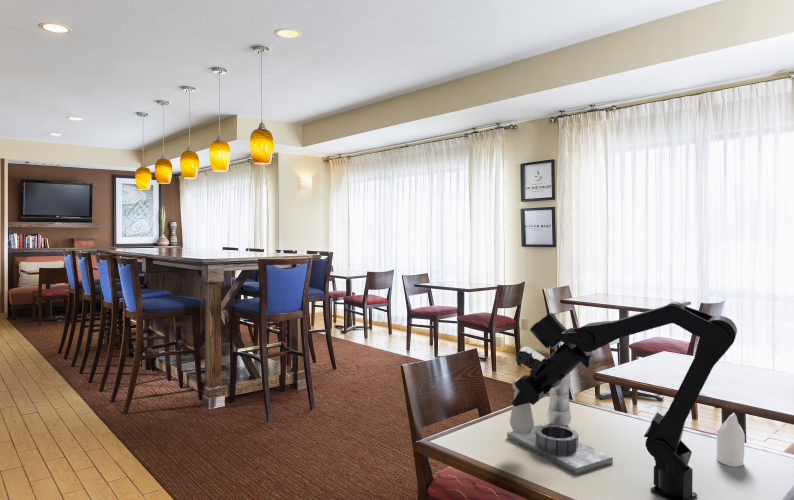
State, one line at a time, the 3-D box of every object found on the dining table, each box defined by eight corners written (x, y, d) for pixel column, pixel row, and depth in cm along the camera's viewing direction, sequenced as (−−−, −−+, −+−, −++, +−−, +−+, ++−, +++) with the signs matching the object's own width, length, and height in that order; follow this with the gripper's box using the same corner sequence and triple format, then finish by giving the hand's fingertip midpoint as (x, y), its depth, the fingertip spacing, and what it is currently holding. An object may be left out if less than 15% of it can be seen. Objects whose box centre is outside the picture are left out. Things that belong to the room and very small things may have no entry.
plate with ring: (612, 463, 122) (612, 444, 122) (576, 474, 117) (576, 455, 117) (540, 429, 143) (540, 414, 143) (507, 438, 138) (507, 421, 138)
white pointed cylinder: (716, 406, 126) (744, 410, 123) (716, 454, 126) (743, 459, 124) (717, 413, 121) (745, 417, 118) (716, 463, 121) (745, 469, 118)
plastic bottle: (547, 428, 144) (547, 358, 144) (547, 420, 151) (547, 352, 150) (571, 430, 143) (571, 359, 142) (570, 422, 149) (570, 353, 148)
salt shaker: (534, 437, 123) (533, 383, 123) (510, 435, 124) (509, 382, 124) (533, 427, 129) (532, 376, 129) (509, 426, 130) (509, 375, 130)
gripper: (548, 330, 132) (508, 368, 138) (522, 344, 116) (478, 385, 122) (580, 365, 127) (537, 402, 134) (558, 383, 112) (510, 424, 118)
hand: (516, 402), depth 127 cm, fingers closed on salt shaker, 3 cm apart
